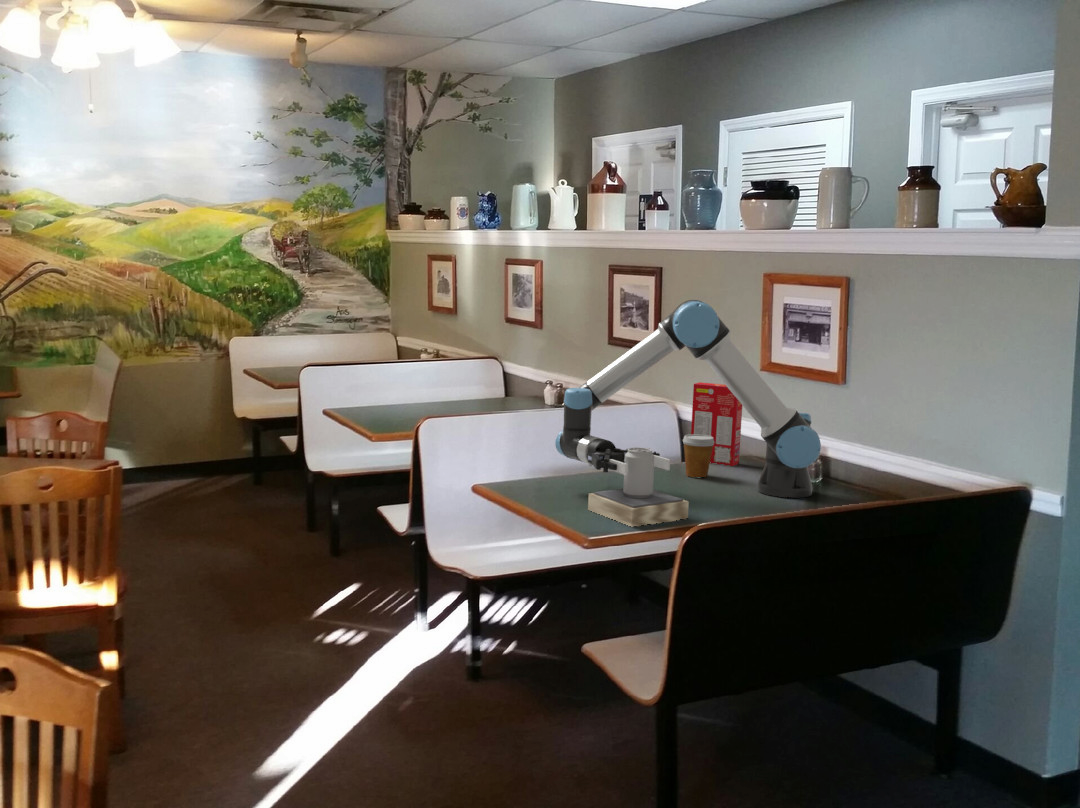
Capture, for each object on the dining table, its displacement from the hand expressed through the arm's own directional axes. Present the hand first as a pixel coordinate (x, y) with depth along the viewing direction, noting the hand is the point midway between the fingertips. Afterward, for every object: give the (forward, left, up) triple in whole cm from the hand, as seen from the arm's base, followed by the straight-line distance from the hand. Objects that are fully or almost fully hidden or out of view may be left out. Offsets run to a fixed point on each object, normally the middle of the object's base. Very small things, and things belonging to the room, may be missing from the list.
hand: (648, 467), depth 262 cm
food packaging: (+7, -80, -13) cm, 81 cm away
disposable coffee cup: (+5, -56, -13) cm, 57 cm away
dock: (+3, -2, -13) cm, 13 cm away
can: (+3, -2, -8) cm, 9 cm away
